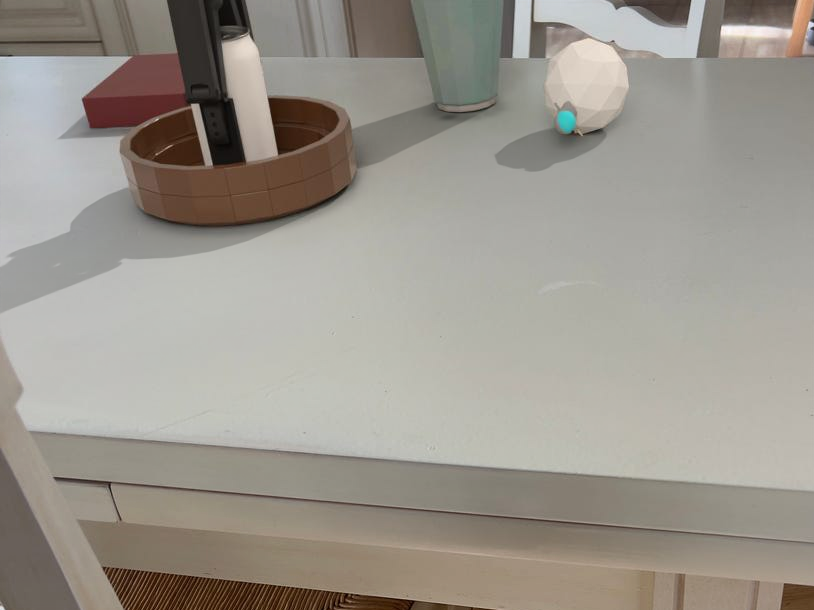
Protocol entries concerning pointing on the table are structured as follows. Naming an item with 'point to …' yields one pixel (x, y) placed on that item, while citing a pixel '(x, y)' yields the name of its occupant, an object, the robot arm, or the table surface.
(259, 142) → the can
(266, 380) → the table surface
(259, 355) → the table surface
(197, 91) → the robot arm
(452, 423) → the table surface
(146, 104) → the book
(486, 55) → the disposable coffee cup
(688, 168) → the table surface
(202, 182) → the bowl
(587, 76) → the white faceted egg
